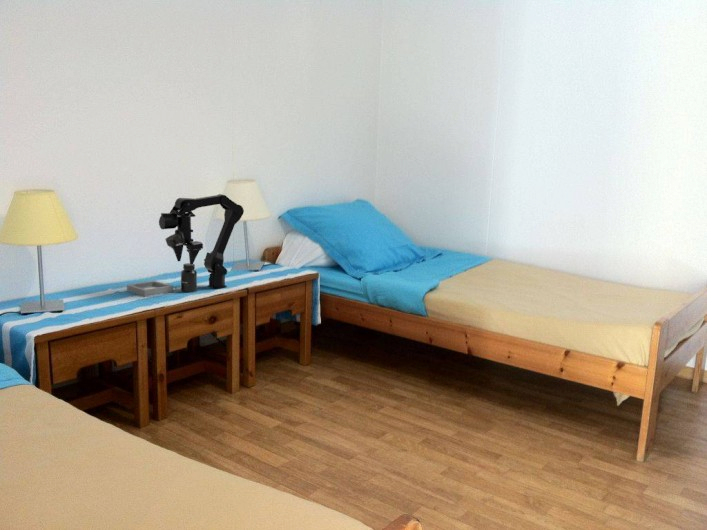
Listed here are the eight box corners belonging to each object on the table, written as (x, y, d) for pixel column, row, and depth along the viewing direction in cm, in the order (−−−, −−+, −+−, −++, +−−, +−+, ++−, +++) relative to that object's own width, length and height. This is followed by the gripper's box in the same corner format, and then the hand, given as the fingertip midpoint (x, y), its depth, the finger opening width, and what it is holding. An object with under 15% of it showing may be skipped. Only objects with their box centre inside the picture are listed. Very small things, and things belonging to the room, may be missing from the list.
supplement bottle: (180, 292, 298) (180, 265, 296) (181, 289, 305) (181, 262, 302) (196, 292, 300) (196, 265, 297) (197, 289, 306) (196, 262, 304)
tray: (155, 286, 309) (154, 280, 308) (173, 291, 300) (173, 285, 299) (127, 290, 298) (126, 284, 298) (145, 296, 289) (145, 290, 289)
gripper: (155, 226, 296) (157, 262, 299) (181, 232, 284) (182, 268, 287) (177, 224, 304) (178, 258, 307) (203, 229, 292) (204, 265, 295)
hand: (185, 262), depth 299 cm, fingers open, 9 cm apart
